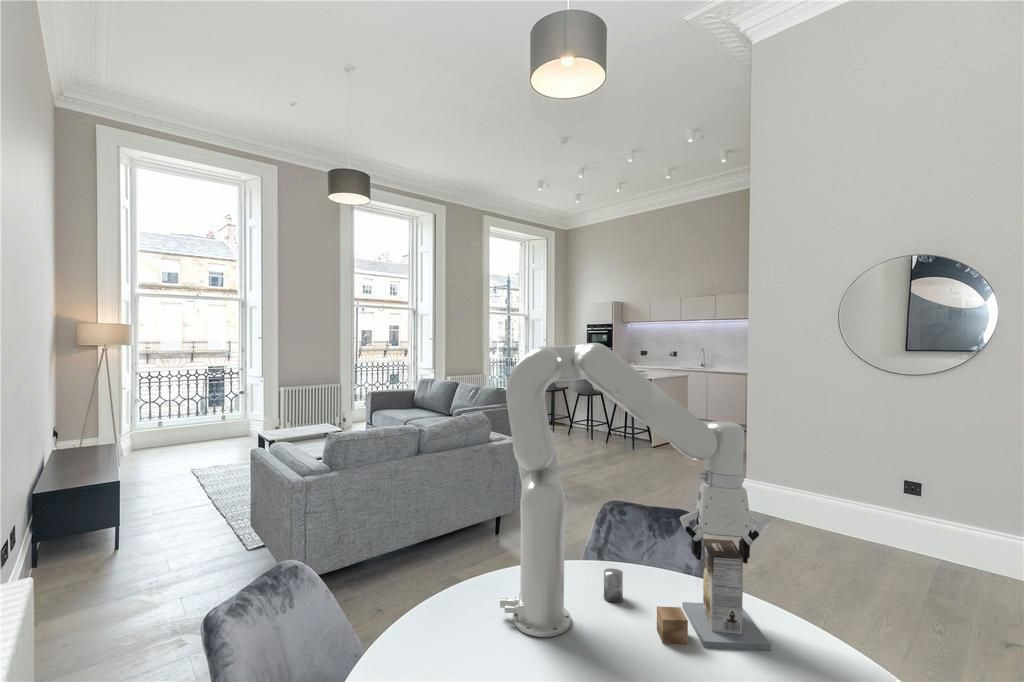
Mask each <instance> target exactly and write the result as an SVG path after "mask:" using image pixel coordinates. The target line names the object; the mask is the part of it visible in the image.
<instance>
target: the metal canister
mask: <svg viewBox="0 0 1024 682" xmlns="http://www.w3.org/2000/svg"><path fill="white" fill-rule="evenodd" d="M623 573H624V572H623V571H622V570H621V569H618V568H613V567H612V568H605V569H604V570H603V598H604V600H605V601H608V602H613V603H618V602H619V603H620V602H622V601H623V595H624V592H623V590H624V589H623V588H624V585H623V576H624V575H623Z"/></svg>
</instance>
